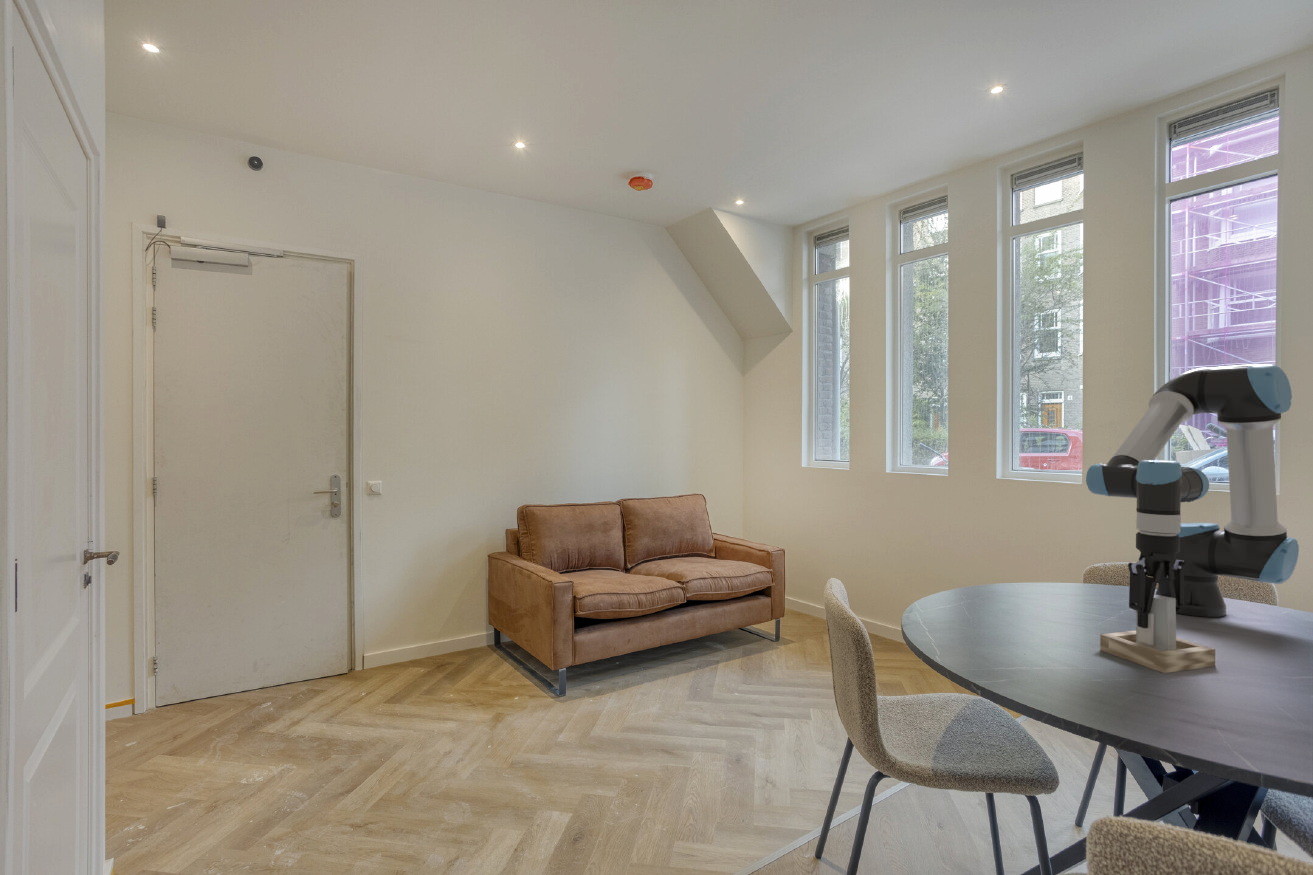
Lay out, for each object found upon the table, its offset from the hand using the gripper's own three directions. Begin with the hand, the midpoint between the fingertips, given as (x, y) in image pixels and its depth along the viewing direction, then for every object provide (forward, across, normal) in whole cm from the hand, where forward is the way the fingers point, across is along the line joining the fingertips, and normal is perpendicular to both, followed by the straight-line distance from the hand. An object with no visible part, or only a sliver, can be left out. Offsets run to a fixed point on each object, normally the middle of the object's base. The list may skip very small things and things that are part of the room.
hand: (1156, 640), depth 142 cm
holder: (+4, 0, 0) cm, 4 cm away
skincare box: (+3, 0, 0) cm, 3 cm away
